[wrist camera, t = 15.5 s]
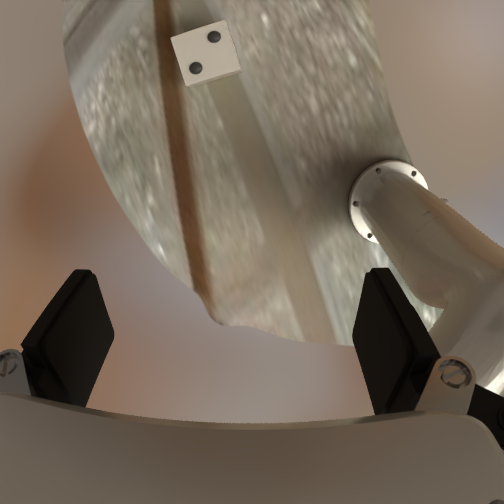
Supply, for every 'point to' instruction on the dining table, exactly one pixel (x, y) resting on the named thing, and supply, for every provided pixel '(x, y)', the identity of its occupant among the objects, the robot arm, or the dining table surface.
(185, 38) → the die
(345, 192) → the dining table surface
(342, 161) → the dining table surface
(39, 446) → the robot arm
